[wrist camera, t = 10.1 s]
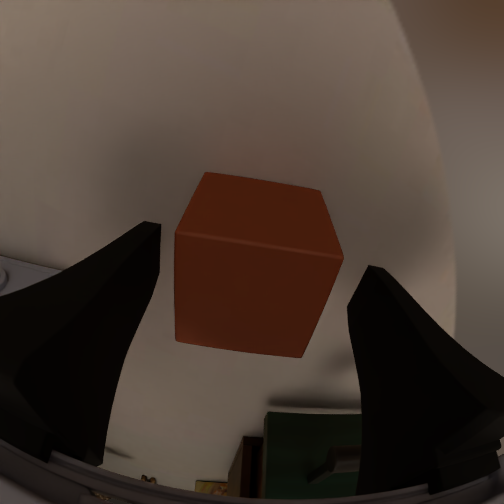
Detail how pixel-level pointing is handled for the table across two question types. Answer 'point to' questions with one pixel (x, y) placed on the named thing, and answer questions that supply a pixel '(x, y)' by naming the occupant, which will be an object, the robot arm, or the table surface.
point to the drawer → (307, 456)
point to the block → (253, 265)
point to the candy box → (211, 488)
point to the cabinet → (243, 467)
